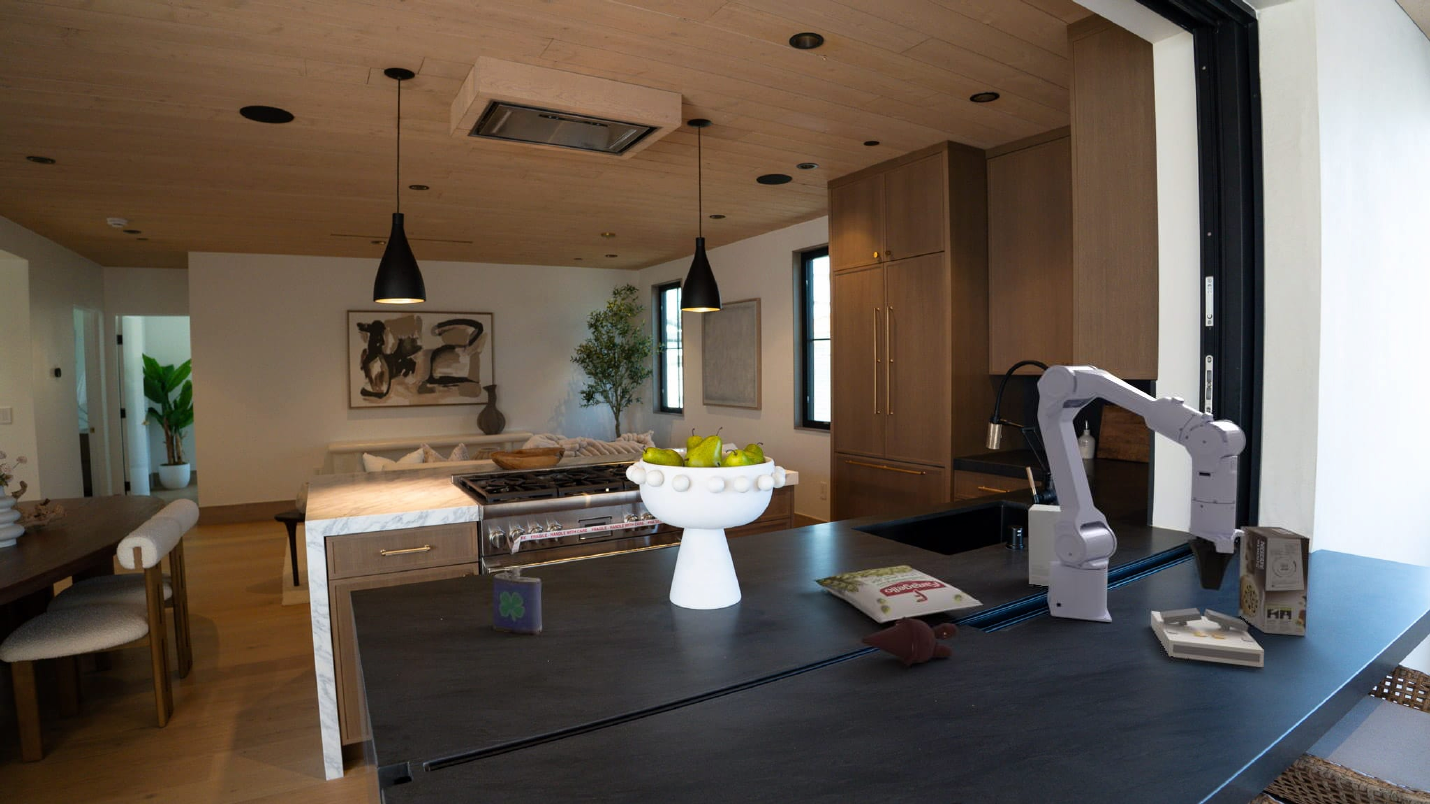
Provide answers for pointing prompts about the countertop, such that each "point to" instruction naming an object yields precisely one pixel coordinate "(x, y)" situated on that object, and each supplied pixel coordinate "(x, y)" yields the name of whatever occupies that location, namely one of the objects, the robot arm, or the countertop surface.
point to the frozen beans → (896, 593)
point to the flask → (517, 603)
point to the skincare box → (1041, 542)
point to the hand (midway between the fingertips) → (1210, 588)
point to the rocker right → (1226, 621)
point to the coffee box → (1274, 579)
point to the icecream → (913, 640)
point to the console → (1207, 642)
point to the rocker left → (1180, 616)
